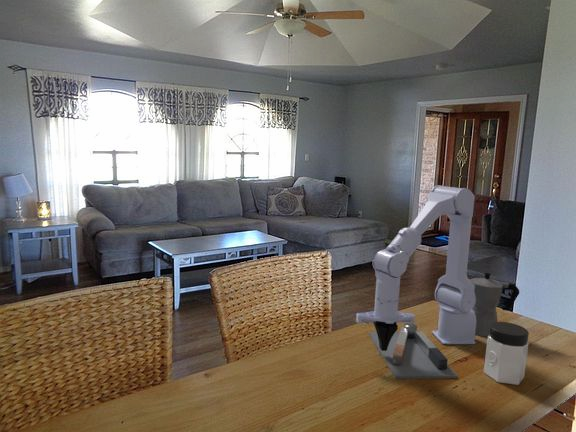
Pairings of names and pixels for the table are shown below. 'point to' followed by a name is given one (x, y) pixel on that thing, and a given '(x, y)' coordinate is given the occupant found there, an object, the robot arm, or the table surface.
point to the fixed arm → (431, 350)
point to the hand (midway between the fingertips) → (383, 348)
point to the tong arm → (403, 342)
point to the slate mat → (411, 360)
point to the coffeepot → (489, 301)
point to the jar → (506, 352)
